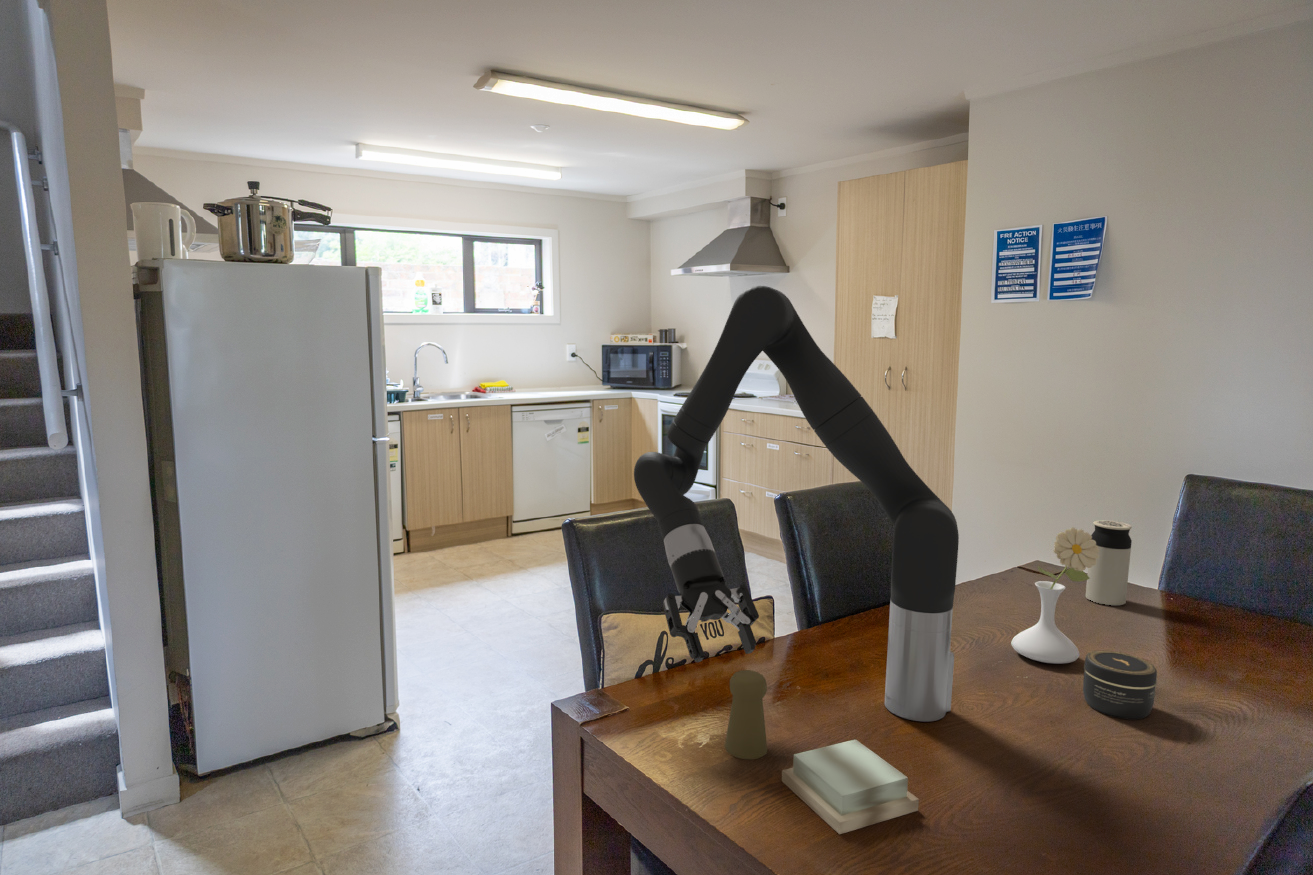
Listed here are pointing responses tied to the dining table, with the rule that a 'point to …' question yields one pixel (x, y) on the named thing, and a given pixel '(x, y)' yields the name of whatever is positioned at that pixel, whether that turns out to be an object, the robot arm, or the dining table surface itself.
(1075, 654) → the flower in vase
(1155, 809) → the dining table surface
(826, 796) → the plinth
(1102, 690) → the jar
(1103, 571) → the travel mug
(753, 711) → the cork
